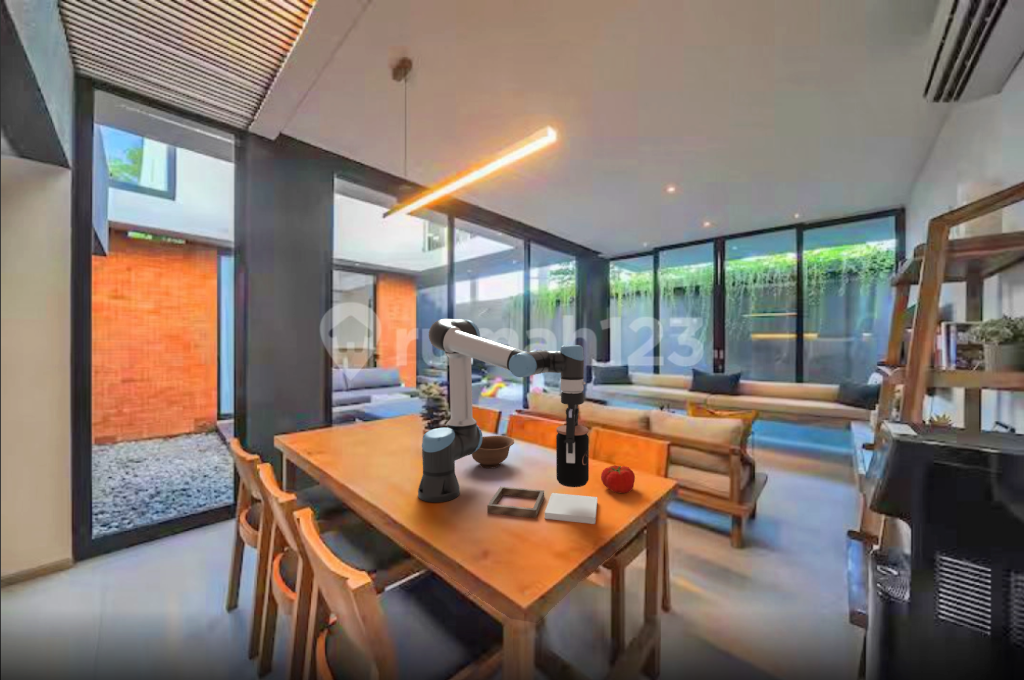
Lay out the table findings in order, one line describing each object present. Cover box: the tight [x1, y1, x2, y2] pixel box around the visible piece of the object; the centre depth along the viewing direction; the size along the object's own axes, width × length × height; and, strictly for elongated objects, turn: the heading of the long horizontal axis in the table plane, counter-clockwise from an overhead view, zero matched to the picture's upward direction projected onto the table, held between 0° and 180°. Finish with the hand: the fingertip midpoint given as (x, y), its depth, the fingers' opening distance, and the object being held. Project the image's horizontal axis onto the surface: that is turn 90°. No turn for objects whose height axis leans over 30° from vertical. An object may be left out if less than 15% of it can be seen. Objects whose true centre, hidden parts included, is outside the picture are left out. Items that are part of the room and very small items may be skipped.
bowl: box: [471, 435, 515, 469], centre depth 184 cm, size 22×22×11 cm
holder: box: [486, 485, 545, 519], centre depth 143 cm, size 16×16×2 cm
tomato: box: [600, 465, 636, 494], centre depth 155 cm, size 14×13×9 cm
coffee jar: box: [555, 424, 590, 488], centre depth 138 cm, size 11×11×18 cm
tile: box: [544, 492, 598, 525], centre depth 139 cm, size 16×16×2 cm
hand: (572, 457), depth 138 cm, fingers closed on coffee jar, 11 cm apart
